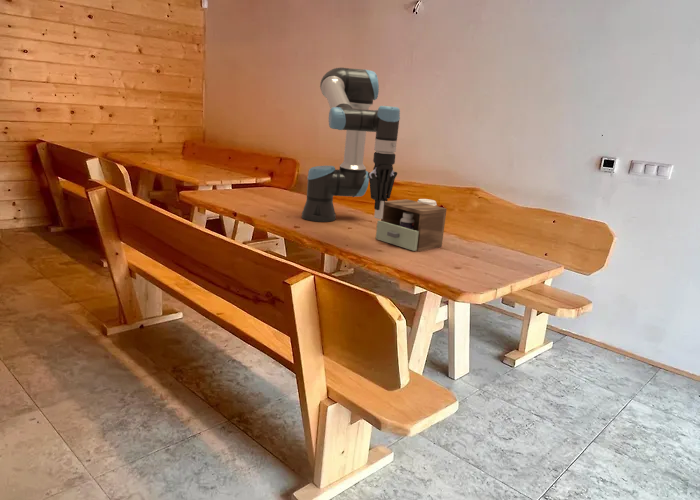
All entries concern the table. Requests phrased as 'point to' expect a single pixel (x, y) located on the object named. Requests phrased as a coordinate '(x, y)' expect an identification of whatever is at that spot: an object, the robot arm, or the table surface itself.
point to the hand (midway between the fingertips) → (378, 218)
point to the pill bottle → (407, 220)
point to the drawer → (397, 235)
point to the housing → (419, 220)
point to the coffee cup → (427, 201)
